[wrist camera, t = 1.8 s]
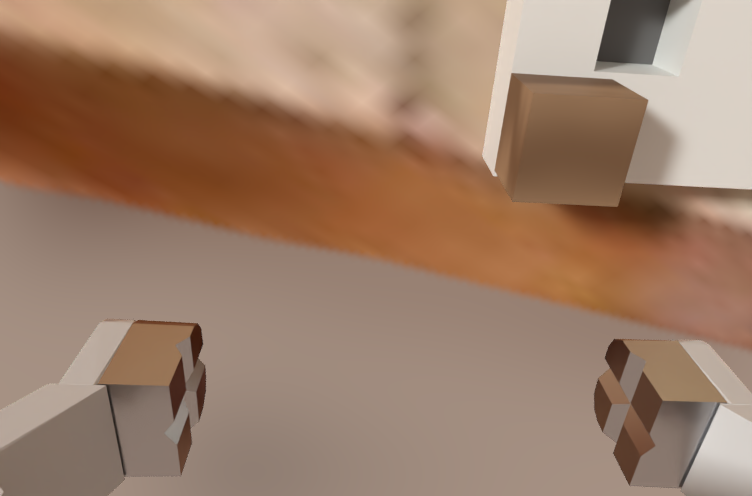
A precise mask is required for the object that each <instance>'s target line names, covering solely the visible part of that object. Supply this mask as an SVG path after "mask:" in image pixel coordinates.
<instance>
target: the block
mask: <svg viewBox="0 0 752 496" xmlns="http://www.w3.org/2000/svg"><path fill="white" fill-rule="evenodd" d="M647 104H648V99H646V98H644V97H642V96H641V95H639V94H637V93H635V92H634V91H632V90H630V89H629V88H627V87H625V86H623V85H622V84H620V83H618V82H616V81H615V80H613V79H601V78H585V77H568V76H552V75H536V74H520V73H511V78H510V83H509V89H508V95H507V101H506V107H505V112H504V118H503V124H502V130H501V136H500V141H499V147H498V153H497V159H496V164H495V170H494V171H495V172H496V174H497V176H498V178H499V179H500V181H501V183H502V185H503V186H504V188H505V190H506V191H507V193H508V195H509V197H510V198H511V200H512V202H529V203H549V204H569V205H589V206H610V207H618V204H619V201H620V197H621V194H622V190H623V187H624V183H625V180H626V176H627V173H628V170H629V166H630V163H631V159H632V156H633V152H634V149H635V145H636V142H637V138H638V135H639V132H640V128H641V125H642V121H643V118H644V114H645V111H646V107H647Z"/></svg>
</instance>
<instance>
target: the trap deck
mask: <svg viewBox="0 0 752 496" xmlns="http://www.w3.org/2000/svg"><path fill="white" fill-rule="evenodd" d="M511 73H520V74H536V75H552V76H568V77H585V78H601V79H613V80H615V81H616V82H618V83H620V84H622V85H623V86H625V87H627V88H629V89H630V90H632V91H634V92H635V93H637V94H639V95H641V96H642V97H644V98H646V99H648V104H647V107H646V111H645V114H644V118H643V121H642V125H641V128H640V132H639V135H638V138H637V142H636V145H635V149H634V152H633V156H632V159H631V163H630V166H629V170H628V173H627V176H626V180H625V183H636V184H655V185H675V186H694V187H713V188H733V189H752V0H507V5H506V11H505V17H504V23H503V30H502V36H501V42H500V48H499V55H498V61H497V67H496V73H495V80H494V86H493V92H492V98H491V105H490V111H489V117H488V123H487V130H486V136H485V142H484V148H483V155H482V156H483V158H484V160H485V162H486V164H487V165H488V167H489V169H490V171H491V173H492V174H493V176H497V174H496V172H495V171H494V170H495V164H496V159H497V153H498V147H499V141H500V136H501V130H502V124H503V118H504V112H505V107H506V101H507V95H508V89H509V83H510V78H511Z"/></svg>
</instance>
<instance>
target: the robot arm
mask: <svg viewBox="0 0 752 496" xmlns="http://www.w3.org/2000/svg"><path fill="white" fill-rule="evenodd" d="M202 346H203V339H202V332H201V327H200V326H199V324H198V323H180V322H163V321H145V320H138V321H135V320H122V319H106V320H104V321H101V322H100V323H99V325H98V326H97V327H96V329H95V330H94V332H93V333H92V335H91V336H90V338H89V339H88V341H87V342H86V344H85V345H84V347H83V348H82V350H81V351H80V353H79V354H78V356H77V357H76V359H75V360H74V361H73V363H72V364H71V366H70V368H69V369H68V371H67V372H66V373H65V375H64V376H63V378H62V379H61V381H60V382H59V384H47V385H45V386H43V387H41V388H40V389H38V390H36V391H34V392H32V393H31V394H29V395H27V396H25V397H23V398H21V399H20V400H18V401H16V402H14V403H12V404H10V405H9V406H7V407H5V408H3V409H2V410H0V496H108V495H109V494H110V493H111V492H112V491H113V490H114V489H115V488H116V487H117V486H119V485H120V484H121V483H122V482H123V481H124V480H125V478H124V477H130V476H131V477H141V476H181V475H182V472H183V469H184V466H185V463H186V460H187V457H188V454H189V451H190V448H191V445H192V437H191V428H192V427H193V426H194V425H195V424H197V423H198V422H199V420H200V417H201V414H202V410H203V406H204V400H205V393H206V369H205V365H204V364H203V363H202V362H201V361H200V360H199V359H198V357H199V354H200V352H201V349H202ZM605 360H606V361H607V363H608V365H609V367H610V369H609V370H607V371H606V372H605V373H604V374H603V375H601V376H600V377H599V378H598V381H597V384H596V388H595V392H594V410H595V414H596V418H597V421H598V423H599V426H600V428H601V430H602V432H603V433H604V434H606V435H607V436H608V437H609V438H611V439H612V440H613V441H615V442H616V446H615V449H614V452H613V454H614V456H615V458H616V460H617V462H618V464H619V466H620V468H621V470H622V472H623V474H624V476H625V478H626V480H627V482H628V484H629V486H643V487H663V488H681V492H682V493H684V494H685V495H686V496H752V393H751V392H750V391H749V390H748V389H747V387H746V386H745V385H744V384H743V383H742V382H741V380H740V379H739V378H738V377H737V376H736V375H735V374H734V373H733V371H732V370H731V369H730V368H729V367H728V366H727V364H726V363H725V362H724V361H723V360H722V359H721V358H720V357H719V355H718V354H717V353H716V352H715V351H714V350H713V348H712V347H711V346H710V345H709V344H708V343H706V342H704V341H702V340H671V341H667V340H631V339H630V340H629V339H628V340H627V339H614V340H613V341H612V342H611V344H610V345H609V347H608V349H607V352H606V356H605Z"/></svg>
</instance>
